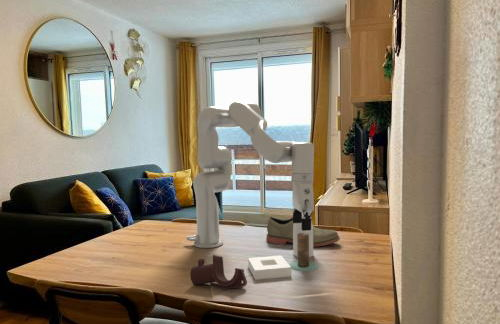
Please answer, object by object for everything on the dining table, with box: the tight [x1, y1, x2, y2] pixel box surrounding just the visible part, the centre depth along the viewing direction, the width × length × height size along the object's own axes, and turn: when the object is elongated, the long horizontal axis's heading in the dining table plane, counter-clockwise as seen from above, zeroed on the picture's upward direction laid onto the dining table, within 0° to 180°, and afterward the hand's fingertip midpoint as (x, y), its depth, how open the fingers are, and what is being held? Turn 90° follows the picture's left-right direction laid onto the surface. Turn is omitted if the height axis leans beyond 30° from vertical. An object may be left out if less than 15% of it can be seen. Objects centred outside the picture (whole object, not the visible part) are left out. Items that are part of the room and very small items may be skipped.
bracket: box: [189, 254, 248, 289], centre depth 109 cm, size 6×17×10 cm, turn 75°
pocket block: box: [247, 255, 292, 280], centre depth 119 cm, size 12×12×4 cm
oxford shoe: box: [265, 216, 341, 248], centre depth 152 cm, size 11×32×12 cm, turn 78°
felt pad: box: [289, 260, 319, 272], centre depth 124 cm, size 10×10×1 cm
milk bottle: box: [292, 209, 314, 258], centre depth 135 cm, size 8×8×20 cm
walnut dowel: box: [297, 233, 310, 268], centre depth 123 cm, size 4×4×11 cm
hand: (301, 226), depth 123 cm, fingers open, 9 cm apart
